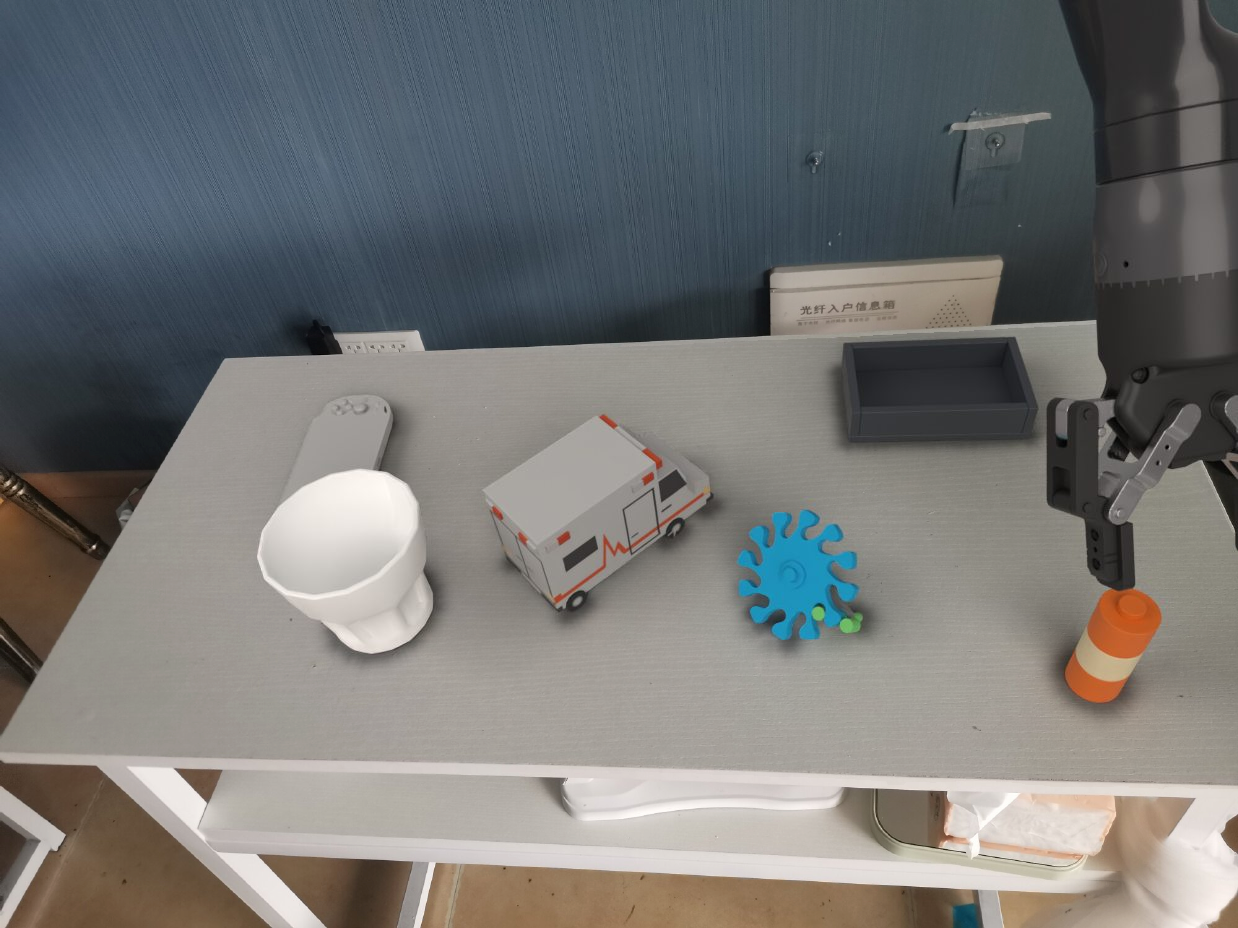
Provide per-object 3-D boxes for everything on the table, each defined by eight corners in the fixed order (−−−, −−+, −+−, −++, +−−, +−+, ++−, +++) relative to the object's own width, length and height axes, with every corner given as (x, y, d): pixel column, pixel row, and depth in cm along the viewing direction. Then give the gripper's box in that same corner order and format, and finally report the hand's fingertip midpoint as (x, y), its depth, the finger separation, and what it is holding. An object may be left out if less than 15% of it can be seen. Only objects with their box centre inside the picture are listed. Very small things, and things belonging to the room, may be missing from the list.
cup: (281, 645, 74) (221, 567, 66) (371, 534, 81) (327, 451, 73) (400, 698, 69) (351, 621, 61) (484, 575, 76) (451, 491, 68)
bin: (1007, 367, 85) (1015, 336, 82) (1029, 439, 79) (1039, 408, 76) (840, 372, 87) (843, 342, 85) (849, 442, 81) (852, 413, 78)
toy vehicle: (722, 511, 77) (717, 431, 70) (565, 628, 71) (542, 554, 64) (651, 455, 83) (640, 376, 76) (500, 559, 77) (472, 484, 70)
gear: (710, 572, 71) (789, 481, 67) (748, 571, 76) (824, 486, 72) (798, 681, 65) (889, 588, 62) (833, 674, 70) (920, 587, 66)
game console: (351, 528, 78) (263, 531, 79) (360, 545, 80) (275, 548, 81) (395, 389, 90) (319, 393, 91) (403, 406, 92) (328, 410, 93)
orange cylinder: (1128, 674, 63) (1173, 598, 56) (1109, 712, 61) (1153, 639, 54) (1076, 648, 65) (1114, 572, 58) (1056, 684, 63) (1092, 610, 56)
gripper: (1100, 285, 40) (1115, 621, 43) (1376, 239, 42) (1371, 566, 45) (1004, 289, 47) (1023, 576, 50) (1242, 250, 49) (1246, 530, 52)
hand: (1187, 571), depth 48 cm, fingers open, 8 cm apart
